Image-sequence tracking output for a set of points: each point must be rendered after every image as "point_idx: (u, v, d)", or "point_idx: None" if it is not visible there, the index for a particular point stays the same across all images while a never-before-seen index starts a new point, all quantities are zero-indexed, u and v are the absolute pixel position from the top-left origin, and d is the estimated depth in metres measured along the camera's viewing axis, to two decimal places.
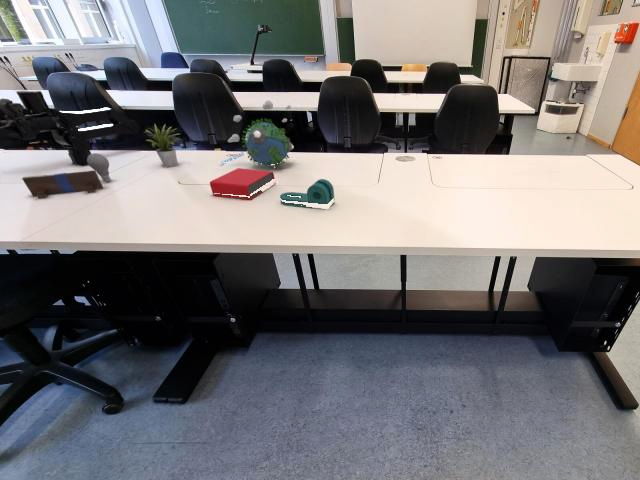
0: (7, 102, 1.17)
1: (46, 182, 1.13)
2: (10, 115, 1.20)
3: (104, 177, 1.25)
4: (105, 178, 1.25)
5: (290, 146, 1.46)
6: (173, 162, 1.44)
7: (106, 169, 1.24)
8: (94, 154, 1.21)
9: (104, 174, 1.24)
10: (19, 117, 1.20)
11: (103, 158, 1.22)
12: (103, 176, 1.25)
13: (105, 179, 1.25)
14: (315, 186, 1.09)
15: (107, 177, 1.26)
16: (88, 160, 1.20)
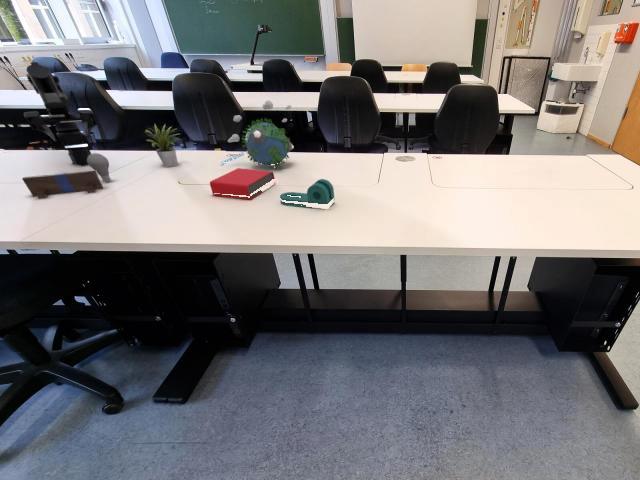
0: (62, 97, 1.17)
1: (46, 182, 1.13)
2: (56, 107, 1.19)
3: (104, 177, 1.25)
4: (105, 178, 1.25)
5: (290, 146, 1.46)
6: (173, 162, 1.44)
7: (106, 169, 1.24)
8: (94, 154, 1.21)
9: (104, 174, 1.24)
10: (66, 106, 1.21)
11: (103, 158, 1.22)
12: (103, 176, 1.25)
13: (105, 179, 1.25)
14: (315, 186, 1.09)
15: (107, 177, 1.26)
16: (88, 160, 1.20)
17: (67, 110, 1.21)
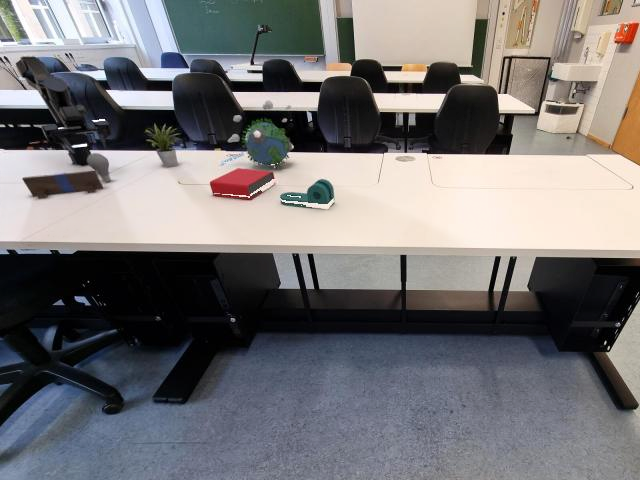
0: (81, 110, 1.18)
1: (46, 182, 1.13)
2: (73, 119, 1.19)
3: (104, 177, 1.25)
4: (105, 178, 1.25)
5: (290, 146, 1.46)
6: (173, 162, 1.44)
7: (106, 169, 1.24)
8: (94, 154, 1.21)
9: (104, 174, 1.24)
10: (82, 117, 1.21)
11: (103, 158, 1.22)
12: (103, 176, 1.25)
13: (105, 179, 1.25)
14: (315, 186, 1.09)
15: (107, 177, 1.26)
16: (88, 160, 1.20)
17: (83, 122, 1.22)
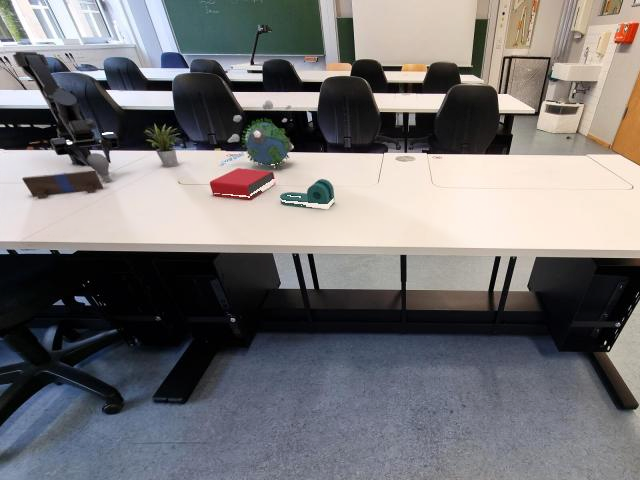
0: (90, 124, 1.17)
1: (46, 182, 1.13)
2: (82, 133, 1.19)
3: (104, 177, 1.25)
4: (105, 178, 1.25)
5: (290, 146, 1.46)
6: (173, 162, 1.44)
7: (106, 169, 1.24)
8: (94, 154, 1.21)
9: (104, 174, 1.24)
10: (91, 131, 1.21)
11: (103, 158, 1.22)
12: (103, 176, 1.25)
13: (105, 179, 1.25)
14: (315, 186, 1.09)
15: (107, 177, 1.26)
16: (88, 160, 1.20)
17: (92, 135, 1.21)
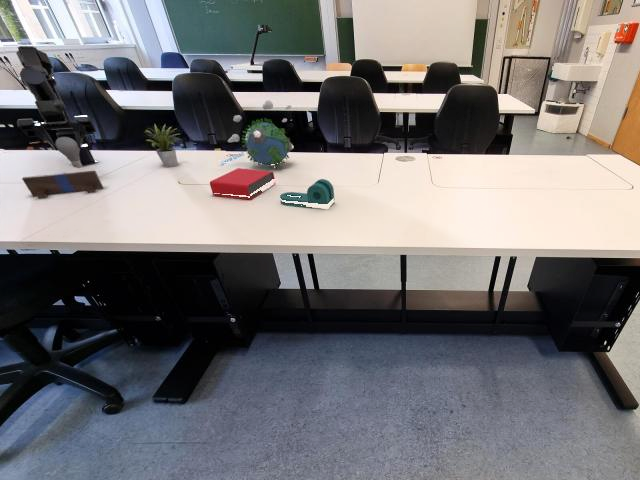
0: (58, 105, 1.10)
1: (46, 182, 1.13)
2: (52, 114, 1.12)
3: (74, 163, 1.18)
4: (75, 164, 1.18)
5: (290, 146, 1.46)
6: (173, 162, 1.44)
7: (75, 154, 1.16)
8: (62, 138, 1.13)
9: (73, 159, 1.17)
10: (63, 113, 1.14)
11: (71, 142, 1.14)
12: (72, 161, 1.17)
13: (75, 165, 1.18)
14: (315, 186, 1.09)
15: (77, 163, 1.18)
16: (55, 144, 1.13)
17: (63, 117, 1.14)
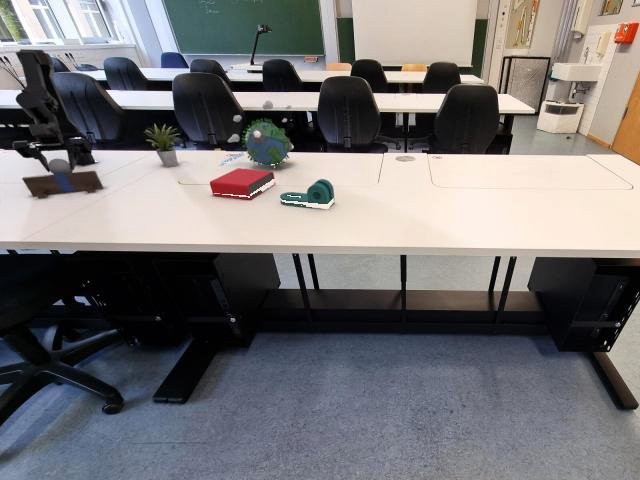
0: (50, 128, 1.10)
1: (46, 182, 1.13)
2: (46, 137, 1.13)
3: None
4: None
5: (290, 146, 1.46)
6: (173, 162, 1.44)
7: None
8: (55, 160, 1.14)
9: None
10: (58, 135, 1.14)
11: (63, 164, 1.15)
12: None
13: None
14: (315, 186, 1.09)
15: None
16: (48, 165, 1.14)
17: (58, 139, 1.15)
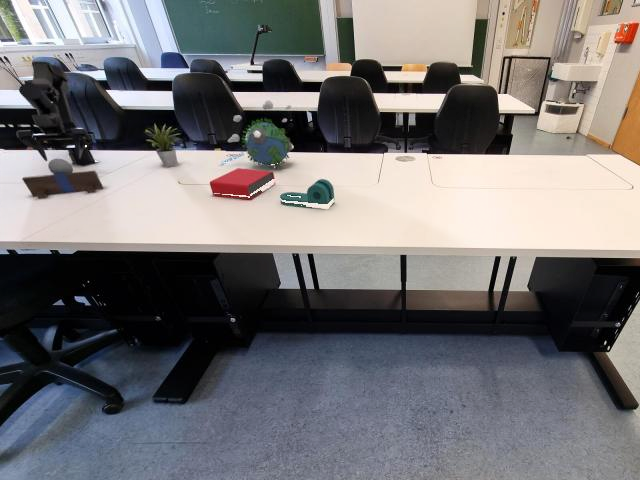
0: (53, 119, 1.15)
1: (46, 182, 1.13)
2: (49, 127, 1.18)
3: None
4: None
5: (290, 146, 1.46)
6: (173, 162, 1.44)
7: None
8: (55, 160, 1.14)
9: None
10: (59, 125, 1.20)
11: (63, 164, 1.15)
12: None
13: None
14: (315, 186, 1.09)
15: None
16: (48, 165, 1.14)
17: (60, 129, 1.20)
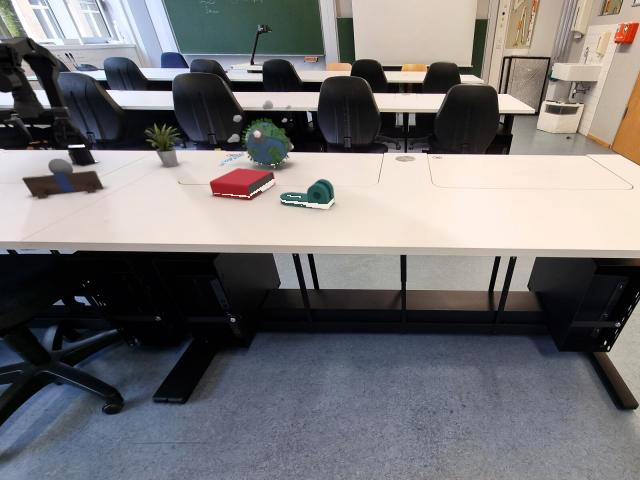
0: (37, 111, 1.12)
1: (46, 182, 1.13)
2: None
3: None
4: None
5: (290, 146, 1.46)
6: (173, 162, 1.44)
7: None
8: (55, 160, 1.14)
9: None
10: None
11: (63, 164, 1.15)
12: None
13: None
14: (315, 186, 1.09)
15: None
16: (48, 165, 1.14)
17: None
